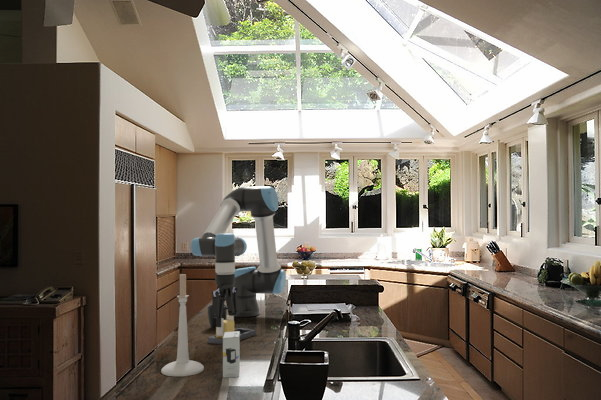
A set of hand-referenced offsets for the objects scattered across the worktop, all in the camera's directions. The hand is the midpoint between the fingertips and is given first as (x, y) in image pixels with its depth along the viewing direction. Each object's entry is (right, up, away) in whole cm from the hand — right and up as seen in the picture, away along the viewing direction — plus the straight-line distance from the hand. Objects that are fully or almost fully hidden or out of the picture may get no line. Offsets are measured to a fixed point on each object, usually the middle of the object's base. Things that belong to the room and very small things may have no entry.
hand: (225, 333), depth 197 cm
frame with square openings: (+2, -3, +4) cm, 5 cm away
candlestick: (-7, -1, -39) cm, 39 cm away
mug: (-5, -4, +26) cm, 27 cm away
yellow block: (0, -2, 0) cm, 2 cm away
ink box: (+8, -1, -42) cm, 43 cm away
